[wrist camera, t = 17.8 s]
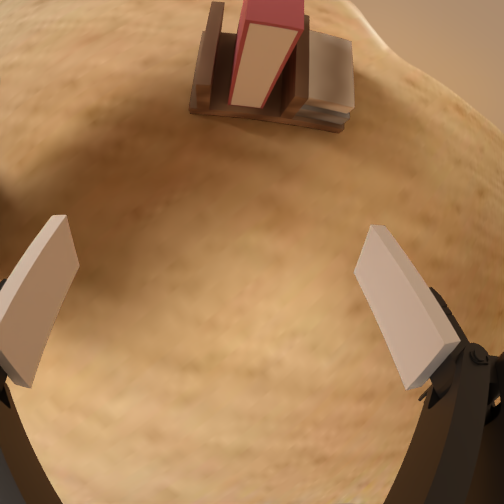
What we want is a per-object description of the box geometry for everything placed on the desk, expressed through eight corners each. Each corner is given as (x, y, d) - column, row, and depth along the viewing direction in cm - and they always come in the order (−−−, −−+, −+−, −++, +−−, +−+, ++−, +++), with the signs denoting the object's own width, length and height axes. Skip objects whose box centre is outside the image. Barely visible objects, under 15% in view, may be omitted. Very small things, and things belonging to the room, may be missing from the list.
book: (227, 105, 28) (245, 20, 14) (235, 39, 27) (255, -53, 13) (262, 109, 28) (304, 30, 14) (267, 43, 28) (302, -44, 14)
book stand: (189, 113, 29) (185, 83, 22) (202, 38, 28) (203, 1, 21) (338, 133, 31) (368, 112, 24) (337, 60, 30) (362, 31, 23)
